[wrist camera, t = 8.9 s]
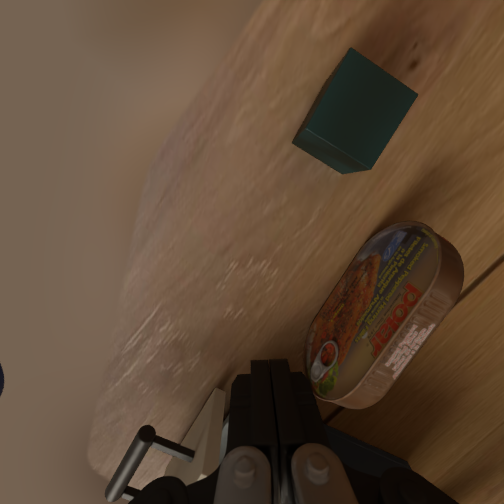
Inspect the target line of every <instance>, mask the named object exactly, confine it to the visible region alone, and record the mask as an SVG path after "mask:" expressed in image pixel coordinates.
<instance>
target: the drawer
mask: <svg viewBox="0 0 504 504" xmlns="http://www.w3.org/2000/svg"><path fill="white" fill-rule="evenodd" d="M225 398H226V392H225V391H222V390H220V389H218V388H215V389H214V391H213V392H212V394H211V396H210V397H209V399H208V400H207V402H206V404H205V405H204V407H203V409H202V410H201V412H200V413H199V415H198V417H197V418H196V420H195V422H194V423H193V425H192V426H191V428H190V430H189V431H188V433H187V435H186V436H185V438H184V439H183V441H182V443H181V444H180V445H179V444H177V443H174V442H172V441H169V440H167V439H164V438H162V437H160V436H157V435H156V432H155V429H154V428H153V427H152V426H150V425H144V426H142V427H141V428H140V429H139V431H138V433H137V434H136V436H135V438H134V440H133V442H132V443H131V445H130V447H129V449H128V450H127V452H126V454H125V456H124V458H123V459H122V461H121V463H120V465H119V467H118V468H117V470H116V472H115V474H114V475H113V477H112V479H111V481H110V483H109V485H108V486H107V488H106V490H105V497H106V499H107V500H108V501H109V502H114V501H116V500H118V499H119V498H120V497H122V498H124V499H127V500H130V501H131V500H132V499H133V498H134V497H135V496H136V495H137V494H138V493H139V492H140V491H141V490H138V489H135V488H133V487H130V486H127V485H128V483H129V482H130V480H131V478H132V476H133V475H134V473H135V471H136V470H137V468H138V466H139V464H140V463H141V461H142V459H143V458H144V456H145V454H146V452H147V451H148V449H149V447H150V446H151V447H152V448H154V449H157V450H159V451H162V452H164V453H167V454H169V455H172V456H173V457H172V459H171V461H170V462H169V464H168V465H167V467H166V470H165V474H164V476H174V477H177V478H179V479H181V480H182V481H183V482H184V484H185V485H186V486H187V485H189V484H191V483H194V482H196V481H199V480H201V479H203V478H205V477H207V476H209V475H210V474H212V473H213V472H214V471H215V470H216V469H217V468H218V467H219V465H220V464H221V462H222V460H223V458H224V456H225V453H226V447H227V435H228V423H229V415H228V416H227V418H226V419H225V421H224V423H223V417H224V407H225ZM278 483H279V480H278ZM121 495H122V496H121ZM279 504H281V499H280V489H279Z"/></svg>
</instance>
